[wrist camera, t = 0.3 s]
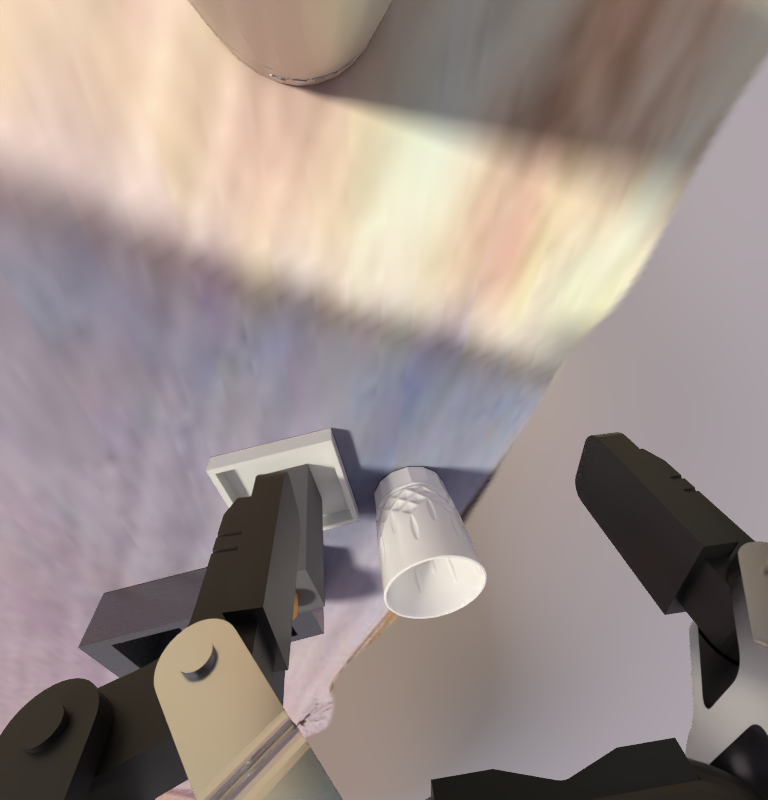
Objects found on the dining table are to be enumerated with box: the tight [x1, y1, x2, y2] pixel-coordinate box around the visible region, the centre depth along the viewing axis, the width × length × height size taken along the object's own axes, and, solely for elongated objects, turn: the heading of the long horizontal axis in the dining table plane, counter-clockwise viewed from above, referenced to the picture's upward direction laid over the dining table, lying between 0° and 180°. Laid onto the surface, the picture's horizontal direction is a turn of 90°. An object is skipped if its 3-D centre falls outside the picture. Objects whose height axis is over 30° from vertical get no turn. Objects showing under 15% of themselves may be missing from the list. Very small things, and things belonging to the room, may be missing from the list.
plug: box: [255, 464, 325, 620], centre depth 29 cm, size 4×4×11 cm
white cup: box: [374, 467, 487, 619], centre depth 33 cm, size 8×8×10 cm
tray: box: [206, 428, 359, 530], centre depth 34 cm, size 10×10×2 cm
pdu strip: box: [78, 568, 324, 678], centre depth 39 cm, size 8×20×5 cm, turn 101°
